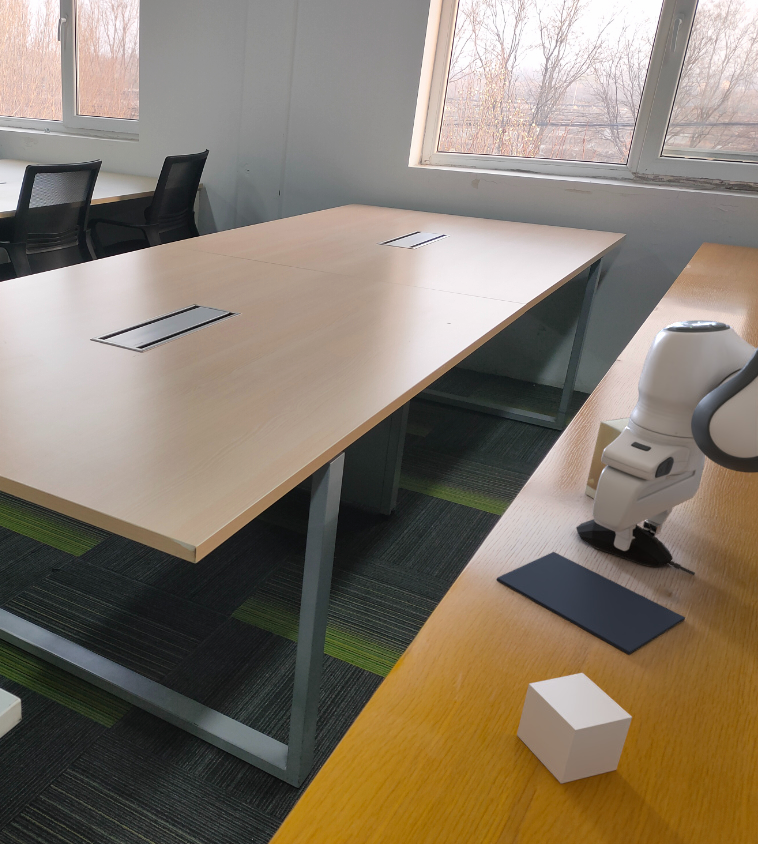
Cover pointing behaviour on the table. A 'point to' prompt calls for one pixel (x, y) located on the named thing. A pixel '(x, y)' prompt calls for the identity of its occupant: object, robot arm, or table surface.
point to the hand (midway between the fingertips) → (636, 540)
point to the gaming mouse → (642, 552)
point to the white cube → (573, 727)
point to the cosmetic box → (605, 437)
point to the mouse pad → (592, 601)
